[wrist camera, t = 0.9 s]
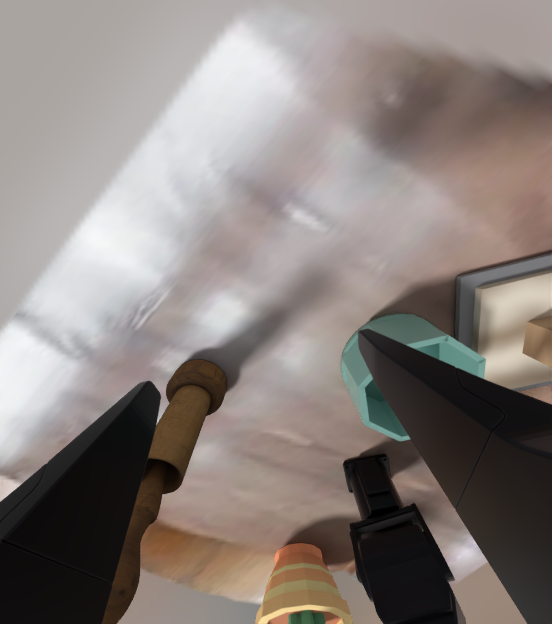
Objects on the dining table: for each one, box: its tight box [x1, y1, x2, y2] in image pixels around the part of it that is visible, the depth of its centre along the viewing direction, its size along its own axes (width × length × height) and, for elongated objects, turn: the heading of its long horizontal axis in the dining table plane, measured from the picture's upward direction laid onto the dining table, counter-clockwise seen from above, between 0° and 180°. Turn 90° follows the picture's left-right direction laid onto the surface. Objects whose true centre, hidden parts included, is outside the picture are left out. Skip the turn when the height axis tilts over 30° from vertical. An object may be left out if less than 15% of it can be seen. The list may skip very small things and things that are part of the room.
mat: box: [455, 253, 552, 391], centre depth 25 cm, size 17×17×1 cm
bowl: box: [341, 313, 486, 441], centre depth 24 cm, size 12×12×6 cm
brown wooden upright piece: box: [102, 360, 227, 624], centre depth 19 cm, size 7×6×18 cm
